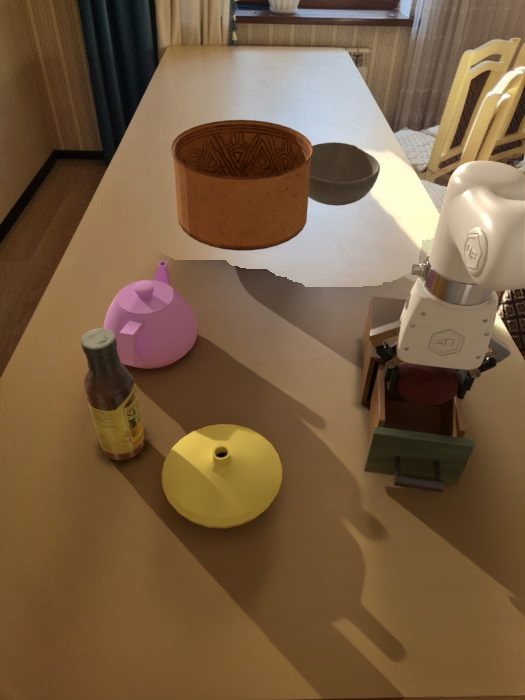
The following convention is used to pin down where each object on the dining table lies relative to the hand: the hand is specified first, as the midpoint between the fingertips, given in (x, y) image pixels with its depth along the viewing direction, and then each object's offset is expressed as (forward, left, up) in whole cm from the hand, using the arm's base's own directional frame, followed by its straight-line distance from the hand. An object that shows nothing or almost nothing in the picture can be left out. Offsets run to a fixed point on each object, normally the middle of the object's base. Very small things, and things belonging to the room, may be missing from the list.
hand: (424, 387), depth 71 cm
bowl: (+65, -35, -11) cm, 75 cm away
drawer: (-2, +2, -10) cm, 11 cm away
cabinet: (+10, -8, -11) cm, 17 cm away
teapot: (+38, +24, -11) cm, 46 cm away
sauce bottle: (+20, +36, -11) cm, 42 cm away
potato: (0, 0, -2) cm, 2 cm away
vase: (+7, +27, -11) cm, 30 cm away
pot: (+61, -7, -11) cm, 63 cm away
